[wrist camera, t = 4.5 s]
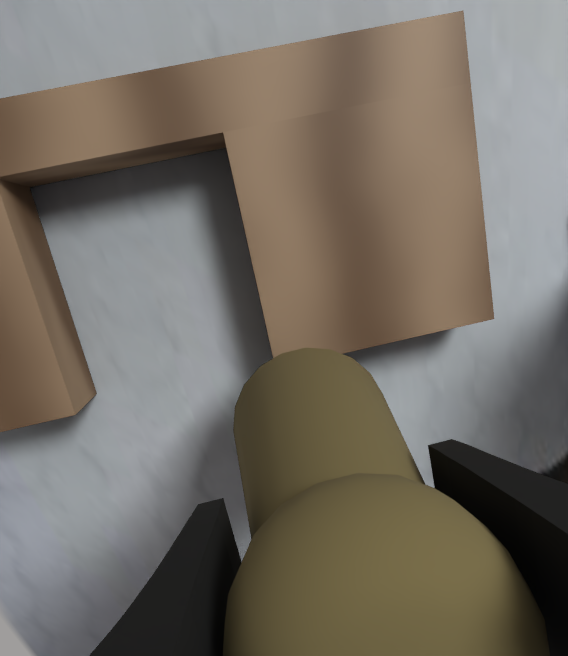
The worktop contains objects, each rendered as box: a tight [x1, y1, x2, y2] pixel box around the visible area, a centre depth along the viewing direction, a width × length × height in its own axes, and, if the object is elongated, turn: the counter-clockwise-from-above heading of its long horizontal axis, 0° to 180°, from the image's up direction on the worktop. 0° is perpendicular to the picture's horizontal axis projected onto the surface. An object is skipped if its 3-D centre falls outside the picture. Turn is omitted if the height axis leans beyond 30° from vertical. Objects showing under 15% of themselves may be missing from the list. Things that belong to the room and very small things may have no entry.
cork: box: [223, 348, 550, 656], centre depth 11 cm, size 6×6×11 cm
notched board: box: [0, 11, 494, 432], centre depth 17 cm, size 22×12×2 cm, turn 102°
